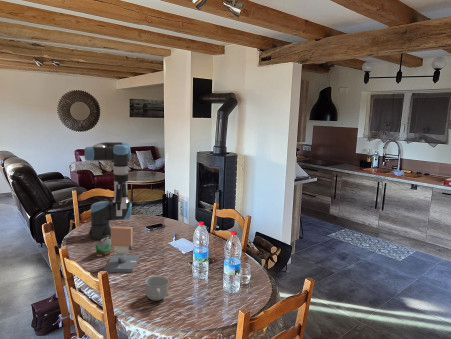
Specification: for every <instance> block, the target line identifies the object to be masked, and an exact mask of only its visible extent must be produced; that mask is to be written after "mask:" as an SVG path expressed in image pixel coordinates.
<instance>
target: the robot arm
mask: <svg viewBox="0 0 451 339" xmlns="http://www.w3.org/2000/svg"><path fill="white" fill-rule="evenodd" d="M132 158H133V157H132V153H131V145H130V143H128V142H122V141H121V142H120V141H119V142H118V141H117V142H116V141H115V142H113V141H112V142H110V141H109V142H108V141H105V142H99V143H96V144H94V145H93V146H86V147H85V148H84V159H85V160H86V161H91V162H94V161H101V162H102V161H107V162H108V161H109V162H110V161H111V163H112V164H113V184H114V185H113V187H114V188H113V189H114V190H113V192H114V198H113V200H112V201H111V203H110V202H109V201H108V200H107V201H106V200H105V201H104V200H103V201H102V200H101V201H98V202H95V203H93V204H91V205H90V228H89V232H88V238H89V239H93V240H101V239H103V238H105V237H106V235H109V236H111V227H112V226H111V225H110V221H121V220H122V221H124V220H129V219H130V218H131V216H132V208H133V204H132V202H131V201H130V199H129V198H128V197H129V196H128V182H129V170H130V169H131V168H130V167H129V163H130V161H131V160H132Z"/></svg>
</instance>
